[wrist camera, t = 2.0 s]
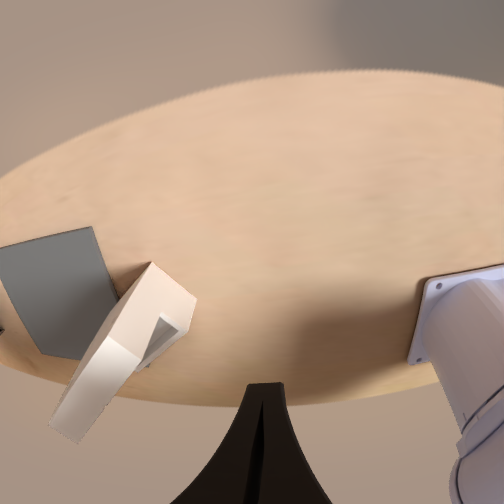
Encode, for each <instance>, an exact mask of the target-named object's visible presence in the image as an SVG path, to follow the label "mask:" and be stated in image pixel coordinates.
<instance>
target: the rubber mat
mask: <svg viewBox="0 0 504 504" xmlns="http://www.w3.org/2000/svg"><path fill="white" fill-rule="evenodd" d="M0 279H1V281H2V283H3V286H4V288H5V290H6V292H7V294H8V296H9V298H10V300H11V302H12V304H13V306H14V308H15V310H16V311H17V313H18V315H19V317H20V319H21V321H22V322H23V324H24V326H25V328H26V329H27V331H28V333H29V334H30V336H31V338H32V339H33V341H34V342H35V344H36V346H37V347H38V349H39V350H40V352H41V353H42V354H45V355H51V356H56V357H62V358H68V359H75V360H82V358H83V356H84V355H85V353H86V351H87V349H88V348H89V346H90V344H91V342H92V341H93V339H94V337H95V336H96V334H97V332H98V331H99V329H100V327H101V326H102V324H103V323H104V321H105V319H106V318H107V316H108V314H109V313H110V311H111V310H112V309H113V308H114V306H115V305H116V304H117V303H118V302H119V298H118V296H117V293H116V291H115V288H114V286H113V283H112V281H111V278H110V276H109V273H108V271H107V268H106V266H105V263H104V260H103V257H102V255H101V252H100V249H99V246H98V243H97V240H96V237H95V234H94V231H93V228H92V226H90V227H86V228H81V229H76V230H72V231H67V232H63V233H58V234H54V235H50V236H45V237H41V238H37V239H33V240H29V241H25V242H21V243H17V244H13V245H9V246H5V247H2V248H0ZM149 365H150V363H149V364H148V365H147V366H145V367H149Z"/></svg>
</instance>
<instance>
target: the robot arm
mask: <svg viewBox="0 0 504 504" xmlns="http://www.w3.org/2000/svg"><path fill="white" fill-rule="evenodd" d="M438 283H439V285H438V286H436V285H437V284H438ZM427 361H431V363H432V365H433V367H434V369H435V372H436V374H437V376H438V378H439V380H440V383H441V385H442V387H443V389H444V392H445V394H446V396H447V399H448V401H449V403H450V406H451V408H452V410H453V413H454V416H455V418H456V421H457V423H458V426H459V429H460V431H461V434H462V438H461V439H460V441H458V442H457V443H456V446H457V449H458V452H459V455H460V456H459V457H458V459H457V460H456V462H455V464H454V466H453V468H452V471H451V475H450V480H449V492H450V497H451V501H452V504H504V265H499V266H494V267H489V268H484V269H479V270H474V271H469V272H463V273H458V274H452V275H447V276H441V277H435V278H431V279H429V280H428V281H427V282H426V283H425V286H424V292H423V297H422V302H421V307H420V311H419V316H418V320H417V324H416V329H415V333H414V336H413V340H412V344H411V348H410V351H409V355H408V358H407V362H408V364H409V365H415V364H419V363H423V362H427ZM170 504H332V502H331V501H330V499H329V498H328V496H327V495H326V493H325V492H324V490H323V489H322V487H321V485H320V484H319V482H318V481H317V479H316V477H315V475H314V474H313V472H312V470H311V468H310V466H309V464H308V462H307V460H306V458H305V456H304V454H303V452H302V450H301V447H300V445H299V443H298V440H297V438H296V435H295V433H294V430H293V427H292V424H291V421H290V418H289V415H288V411H287V407H286V400H285V392H284V384H283V383H281V382H276V383H257V384H249V385H247V388H246V392H245V394H244V397H243V400H242V403H241V405H240V407H239V410H238V412H237V414H236V416H235V418H234V420H233V423H232V424H231V426H230V429H229V430H228V433H227V434H226V436H225V437H224V439H223V441H222V442H221V444H220V446H219V447H218V449H217V450H216V452H215V453H214V455H213V456H212V458H211V459H210V461H209V462H208V463H207V465H206V466H205V467H204V469H203V470H202V471H201V472H200V473H199V475H198V476H197V477H196V478H195V479H194V481H193V482H192V483H191V484H190V485H189V486H188V487H187V488H186V489H185V490H184V491H183V492H182V493H181V494H180V495H179V496H178V497H177V498H176V499H175V500H173V502H171V503H170Z"/></svg>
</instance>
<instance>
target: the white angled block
mask: <svg viewBox="0 0 504 504" xmlns="http://www.w3.org/2000/svg"><path fill="white" fill-rule="evenodd" d="M196 301H197V298H195V297H194V296H193V295H192V294H190V293H189V292H188V291H187V290H185V289H184V288H183V287H182V286H180V285H179V284H178V283H177V282H175V281H174V280H173V279H172V278H171V277H169V276H168V275H167V274H166V273H165V272H163V271H162V270H161V269H160V268H159V267H157V266H156V265H155V264H154V263H153V262H152V263H151V264H150V265H149V266H148V267H147V268H146V269H145V271H144V272H143V273H142V274H141V275H140V276H139V278H138V279H137V280H136V281H135V282H134V283H133V285H132V286H131V287H130V288H129V289H128V291H127V292H126V293H125V294H124V295H123V297H122V298H121V299H120V300H119V302H118V303H117V304H116V305H115V306H114V308H113V309H112V310H111V311H110V313H109V314H108V316H107V318H106V319H105V321H104V323H103V324H102V326H101V327H100V329H99V331H98V332H97V334H96V336H95V337H94V339H93V341H92V342H91V344H90V346H89V348H88V349H87V351H86V353H85V355H84V356H83V358H82V360H81V362H80V363H79V365H78V367H77V369H76V371H75V372H74V374H73V376H72V378H71V380H70V382H69V384H68V385H67V387H66V389H65V391H64V393H63V395H62V397H61V399H60V401H59V403H58V405H57V407H56V409H55V411H54V413H53V415H52V417H51V419H50V422H49V424H48V425H49V426H50V427H51V428H53V429H54V430H56V431H57V432H59V433H60V434H62V435H63V436H65V437H67V438H68V439H70V440H71V441H73V442H75V443H76V444H78V443H79V442H80V441H81V439H82V438H83V437H84V435H85V434H86V433H87V431H88V430H89V429H90V427H91V426H92V424H93V423H94V422H95V421H96V419H97V418H98V417H99V415H100V414H101V413H102V411H103V410H104V407H105V405H108V403H109V402H110V401H111V399H112V398H113V397H114V396H115V394H116V393H117V392H118V390H119V389H120V388H121V386H122V385H123V384H124V383H125V381H126V380H127V379H128V377H129V376H130V375H131V374H132V372H133V371H136V372H137V373H138V372H139V371H140V370H142V369H143V368H144V367H145V366H147V365H148V364H149V363H150V362H152V361H153V360H154V359H155V358H157V357H158V356H159V355H160V354H161V353H163V352H164V351H165V350H166V349H168V348H169V347H170V346H171V345H172V344H174V343H175V342H176V341H177V340H178V339H180V338H181V337H182V336H183V335H185V334H186V333H187V332H188V330H189V326H190V323H191V319H192V315H193V312H194V308H195V305H196Z"/></svg>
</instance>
